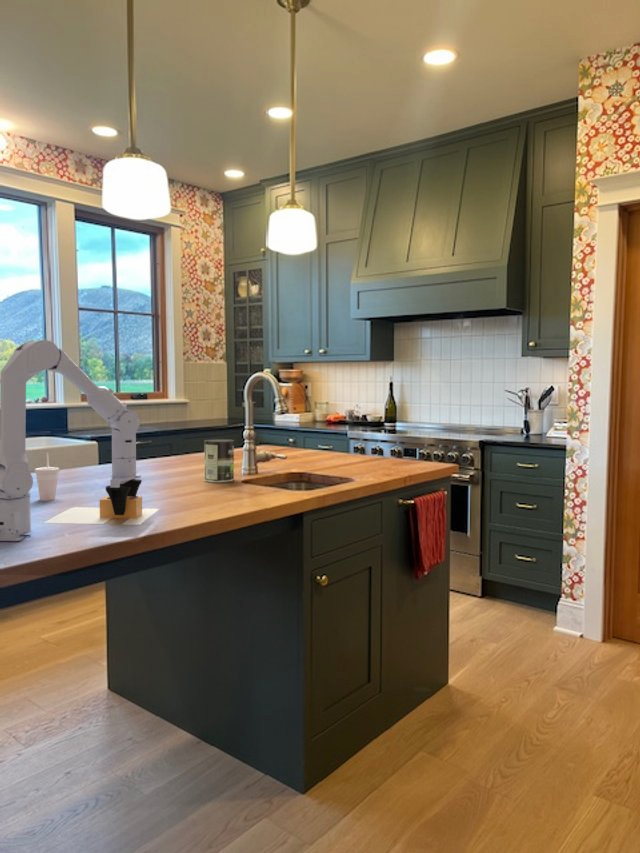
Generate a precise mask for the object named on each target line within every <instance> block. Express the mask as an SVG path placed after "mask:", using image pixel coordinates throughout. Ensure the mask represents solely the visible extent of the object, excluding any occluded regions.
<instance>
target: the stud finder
mask: <svg viewBox="0 0 640 853" xmlns="http://www.w3.org/2000/svg"><path fill="white" fill-rule="evenodd" d="M99 508H100V518H137V517H139V516H140V515H141V514H142V508H143V496H139V495H136V496H127V500H126V507H125V513H124V515H115V513H114V510H113V506H112V502H111V499H110V497H109V495H106V496H104V497H101V498H100V499H99Z"/></svg>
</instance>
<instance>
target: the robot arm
mask: <svg viewBox="0 0 640 853" xmlns="http://www.w3.org/2000/svg"><path fill="white" fill-rule="evenodd" d="M12 353H13V354H12V355H11V356H10V358H9V359H8V361H7V362H6V363H5V365H4V366H3V367H2V369H1V371H0V542H20V541H22V540H24V539H26V538H28V537H29V536H30V534H25V533H28V532H29V533H30V532H31V531H32V527H31V526H32V522H31V521H32V518H31V514H32V513H31V492H30V491H31V490H32V488H33V484H34V480H33V478H34V477H33V476H32V474H31V472H30V469H29V468H30V467H29V465H30V464H29V460H28V457H27V453H26V439H27V438H26V434H27V433H26V432H27V431H26V428H27V427H26V424H27V423H26V422H27V419H26V418H27V417H26V416H27V410H26V408H27V382H28V381H29V380H31V379H32V378H34V377H35V376H36V375H37V374H38V373H40V372H43V371H49V372H54V373H58V374H60V375H62V376H63V377H64V378H65V379H66V380H68V381H69V382H70V383H71V384H72V385H74V387H76V388H77V389H78V390H79V391H80V392H82V393H83V394H84V395H86V403H87V405H89V407H91V408H92V409H93V410H94V411H95V412H96V413H97V414H98V415H100V417H102V419H104V421H106V424H107V426H108V428H109V429H111V475H110V476H111V477H110V485H107V486H105V492H106V493H107V496H109V497H110V499H111V502H112V506H113V510H114V513H115V515H124V513H125V507H126V500H127V496H137V495H138V491H139V488H140V486H141V484H142V479H141V478H142V475H141V474H137V473H138V472H137V434H136V433H137V431H138V430H139V427H140V425H141V420H139V416H138V414H137V413H136V412H135V411H134V410H131V409H127V407H128V405H127V404H126V403H125V402H122V401H121V400H120V399H119V398H118V397H117V396H115V394H113V393H114V390H113V388H109V387H106V386H97V384H96V383H94V382H93V380H91V378H90V377H89V376H88V375H87V374H86V373H85V371H83V370H82V369H81V368H80V367H79V366H78V365H77V364H76V363H75V362H74V361H73V360H72V359H71V357H70V356H69V355H68V354H67V353H66V352H65V351H64V350H63V349H61V348H59V347H58V346H57V344H55V343H54V342H53V341H51V340H48V339H40V340H29V341H26V342H23V343H22V344H20V345H19V346H17V347H16V348H15V349H14V351H13V352H12Z"/></svg>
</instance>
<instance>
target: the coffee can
mask: <svg viewBox="0 0 640 853" xmlns="http://www.w3.org/2000/svg"><path fill="white" fill-rule="evenodd" d="M203 441H204V442H203V443H204V480H203V481H204V482H206V481H207V483H213V484H214V483H215V484H217V483H219V484H221V483H222V482H223V483H230V482H234V481H233V480H235V478H234V477H235V476H234V474H235V472H234V469H235V468H234V467H235V465H234V462H235V461H234V460H235V453H234V452H235V451H234V450H235V446H234V444H235V440H234V439H229V438H228V439H227V438H226V439H225V438H211V439H204V440H203Z"/></svg>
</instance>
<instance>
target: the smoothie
mask: <svg viewBox="0 0 640 853" xmlns="http://www.w3.org/2000/svg"><path fill="white" fill-rule="evenodd" d="M59 472H60V468H59V466H58V467H56V466H50V454H49V452H46V466H42V467H41V466H40V467H38V468H34V473H35V476H36V481H37V488H38V495H39V500H40V501H43V502H45V501H47V502H48V501H53V500H56V496H57V495H56V494H57V487H58V478H59Z"/></svg>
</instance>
